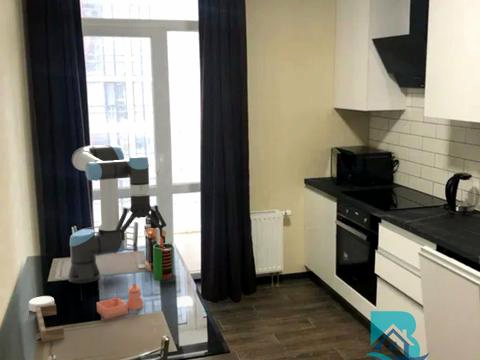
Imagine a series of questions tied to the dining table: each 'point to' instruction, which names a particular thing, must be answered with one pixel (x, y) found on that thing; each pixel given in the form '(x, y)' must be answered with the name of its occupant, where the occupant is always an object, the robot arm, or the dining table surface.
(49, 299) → the coaster
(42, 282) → the dining table surface
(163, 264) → the motor
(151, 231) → the whiskey bottle
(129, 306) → the pottery
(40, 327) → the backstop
